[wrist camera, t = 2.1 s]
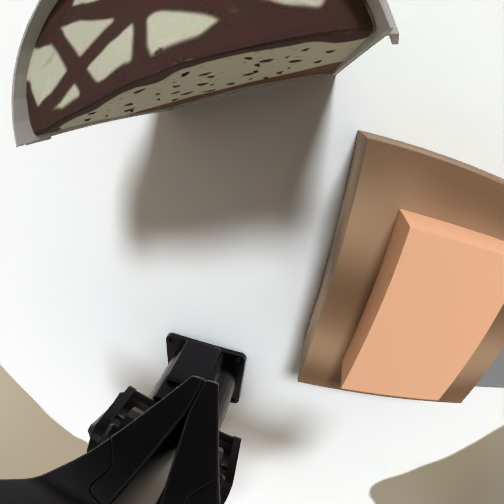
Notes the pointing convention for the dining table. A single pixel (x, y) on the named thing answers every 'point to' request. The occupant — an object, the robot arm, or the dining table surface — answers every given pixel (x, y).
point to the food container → (175, 54)
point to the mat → (494, 373)
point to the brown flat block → (377, 239)
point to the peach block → (425, 309)
